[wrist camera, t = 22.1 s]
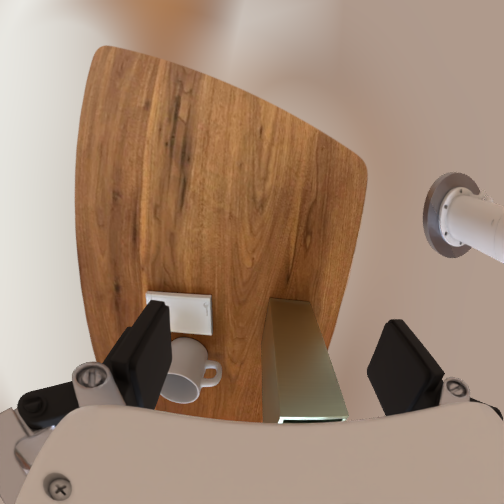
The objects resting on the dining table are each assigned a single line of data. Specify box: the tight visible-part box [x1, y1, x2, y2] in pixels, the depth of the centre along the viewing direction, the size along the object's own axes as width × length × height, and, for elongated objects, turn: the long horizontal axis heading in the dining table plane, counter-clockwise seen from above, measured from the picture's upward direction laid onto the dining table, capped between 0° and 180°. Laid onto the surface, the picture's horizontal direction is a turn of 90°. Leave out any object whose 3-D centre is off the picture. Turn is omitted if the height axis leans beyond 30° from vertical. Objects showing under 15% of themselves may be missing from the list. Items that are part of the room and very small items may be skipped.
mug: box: [160, 337, 222, 403], centre depth 48 cm, size 12×8×11 cm
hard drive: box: [146, 291, 213, 335], centre depth 49 cm, size 2×8×12 cm
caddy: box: [261, 298, 349, 423], centre depth 38 cm, size 10×8×27 cm
